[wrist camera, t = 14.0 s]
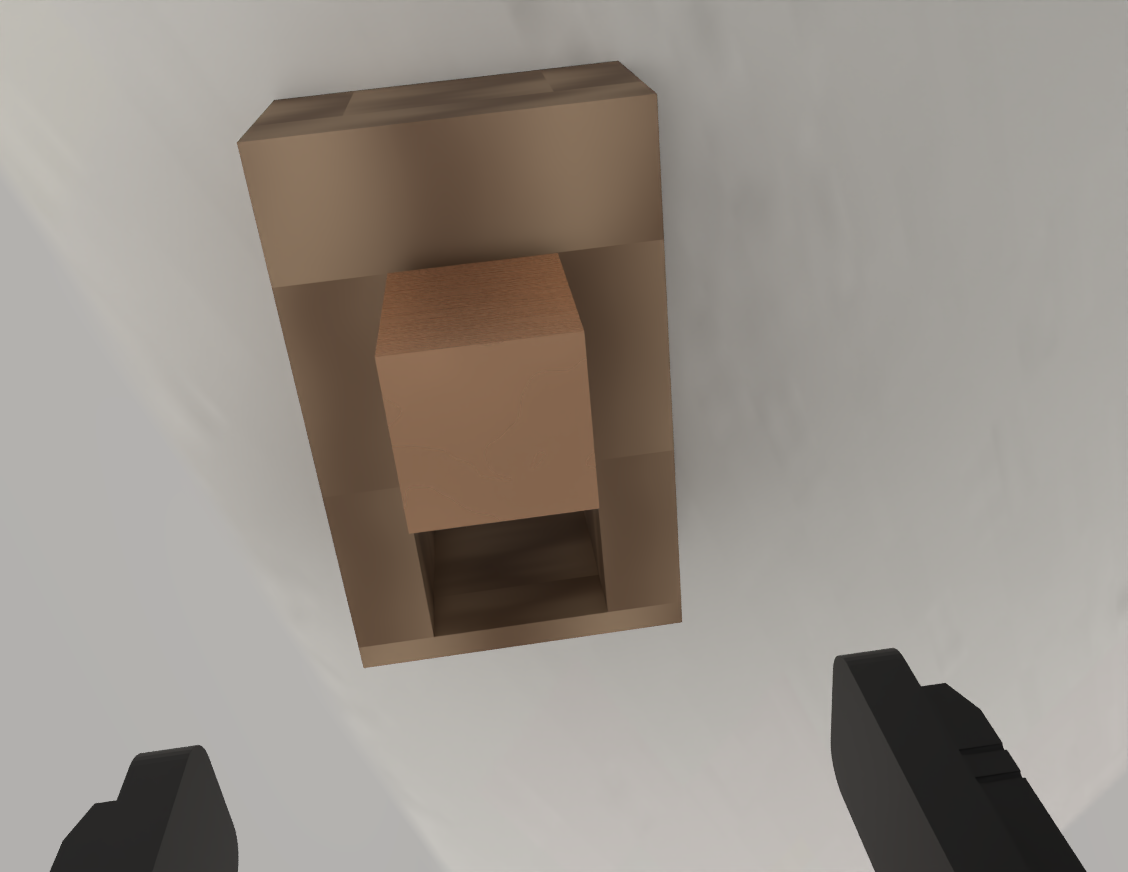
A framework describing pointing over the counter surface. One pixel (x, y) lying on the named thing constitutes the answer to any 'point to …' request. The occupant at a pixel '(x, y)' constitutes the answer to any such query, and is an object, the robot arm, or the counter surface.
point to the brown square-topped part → (486, 393)
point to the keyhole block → (461, 236)
